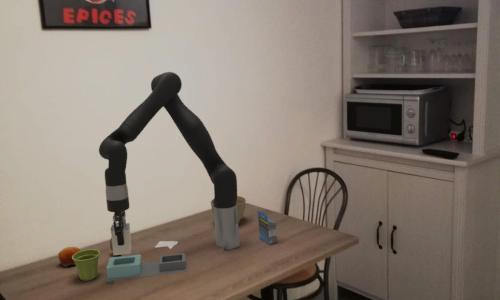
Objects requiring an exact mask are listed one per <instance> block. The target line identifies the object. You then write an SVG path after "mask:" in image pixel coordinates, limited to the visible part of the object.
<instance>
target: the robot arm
mask: <svg viewBox="0 0 500 300" xmlns="http://www.w3.org/2000/svg"><path fill="white" fill-rule="evenodd" d="M182 85H183V83H182V79H181V77H180V76H179V75H178V74H177V73H176V72H172V71H167V72H162V73H160V74H158V75H156V76H155V77H153V79H152V80H151V83H150V88H151V93H150V94H149V95H148V96H147V97H146V99H144V100H143V101H142V102H141V103H139V105H138V106H137V107H135V109H133V111H132V112H131V113H129V115H128V116H126V118H125V119H124V120H123V122H121V124H120V125H119V127H118V128H116V129H115V130H114V131H112V132H111V133H110V134H108V135H107V136H106V137H105V138H103V140H102V141H101V143H100V144H99V147H98V153H99V156H100V157H101V158H102V159H105V160H108V166H107V168H106V169H105V170H104V182H105V198H106V207H107V208H106V209H107V211H108V212H110V213H113V216H112V221H113V223H112V225H114V230H115V236H117V242H118V246H121V245H124V231H123V228H124V227H125V224H126V223H127V220H126V216H127V215H126V211H128V210H129V209H130V198H129V188H128V183H127V174H126V173H127V172H126V168H127V164H128V163H127V162H128V149H127V146H126V144H128V143H131V142H132V143H133V142H134V141H135V140H137V138H138V136H140V134H142V132H143V130H144V129H145V128H146V127H147V126H148V125H149V123H150V122H151V121H152V119H153V118H154V117H155V116H156V115H157V113H158V112H159V111H160V110H162V108H164V109H165V110H166V112H167V113H168V115H169V117H170V118H171V119H172V121H173V123H174V124H175V126H176V128H177V129H178V131H179V132H180V134H181V136H182V137H183V139H184V140H185V142H186V143H187V145H188V147H189V148H190V149H191V150H192V152H193V153H194V155H195V156H197V157H198V159H199V161H200V162H201V163H202V165H203V167H204V169H205V171H206V172H207V175H208V176H209V177H208V178H209V179H210V181H211V183H212V184H213V191H214V192H213V193H214V194H213V195H214V197H213V199H214V200H213V199H212V200H213V205H214V214H213V216H214V217H213V218H214V230H215V231H214V232H215V234H214V235H215V246H217V248H222V249H223V250H234V249H235V248H239V247H240V230H239V223H237V205H236V200H237V196H238V179H237V174H236V172H235V170H233V169H232V168H231V167H229V166H228V164H226V162H225V161H224V159H222V157H221V156H220V154H219V153H218V151H217V149H216V147H215V144H214V141H213V139H212V136H211V134H210V132H209V131H208V129H207V127H206V125H205V124H204V122H203V121H202V120H201V119H200V117H199V116H197V115H196V113H194V112H193V111H192V110H191V109H190V108H189V107H188V106H187V105H185V104H184V102H183V101H182V99H181V98H180V96H179V93H180V91H181V90H182V87H183V86H182ZM122 225H123V226H122ZM119 230H120V231H121V232H118V231H119Z"/></svg>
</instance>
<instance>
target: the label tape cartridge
mask: <svg viewBox="0 0 500 300" xmlns="http://www.w3.org/2000/svg"><path fill="white" fill-rule="evenodd" d="M257 218H258V233H259V234H258V235H259V237H258V238H259V239H261V240H262V241H263V242H265V244H267V245H272V244H273V245H274V244H277V224H276V223H275V222H273V221H272V220H270V219H269V217H268V215H267V214H265V213H263V212H262V211H260V210H257Z"/></svg>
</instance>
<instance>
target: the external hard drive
mask: <svg viewBox="0 0 500 300" xmlns="http://www.w3.org/2000/svg"><path fill="white" fill-rule="evenodd" d="M178 245H179V241H177V240H172V241H171V240H167V241H165V240H164V241H161V240H160V241H158V242H157V244H156V245H155V246H154V248H162V247H163V248H164V247H168V248H169V250H171V249H172V248H173V247H174V246H178Z"/></svg>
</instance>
